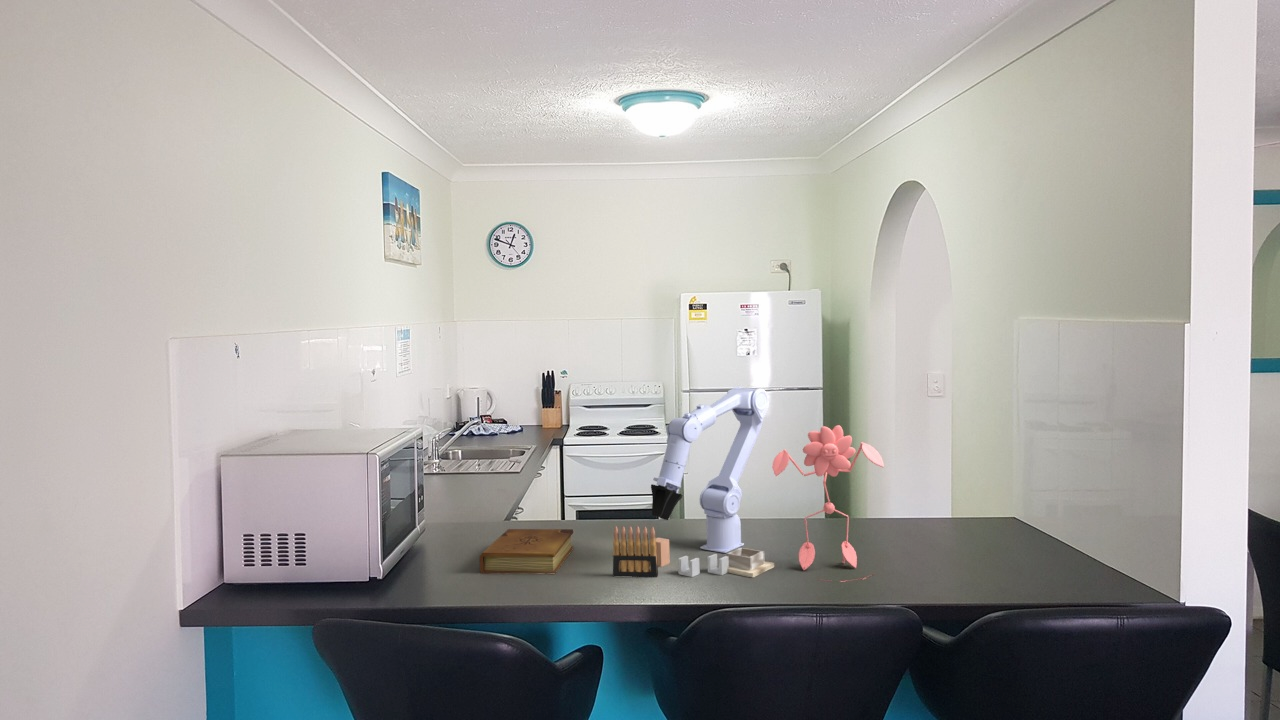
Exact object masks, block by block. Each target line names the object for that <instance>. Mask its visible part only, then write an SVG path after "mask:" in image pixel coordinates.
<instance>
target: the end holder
mask: <svg viewBox="0 0 1280 720" xmlns="http://www.w3.org/2000/svg"><path fill="white" fill-rule="evenodd" d="M725 556H728V561H729V568H728V573H727V574H732V575H737V576H743V577H748V578H755V577H758V576H759V575H761V574H764V573H765V572H767V571H769V570H771V569H773V568H775V562H770V561H766V559H765V558H766V557H765V556H766V554H765V550H758V549H752V548H747V547H742V546H741V547H738V548H736V549H734V550H731V551H729V552H727V553H725ZM717 567H718V568H719V565H717Z"/></svg>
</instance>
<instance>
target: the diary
mask: <svg viewBox="0 0 1280 720" xmlns="http://www.w3.org/2000/svg"><path fill="white" fill-rule="evenodd" d="M573 533H574V529H567V528H565V529H563V528H559V529H558V528H557V529H556V528H541V529H540V528H508V529H507V530H505V532H504V533H502V535H500V536H499V537H498V538H497V539H496V540H495V541H494V542H492V544H490V546H488V547H487V548H486V549H485V550H483V552H481V554H480V555H479V572H480V574H490V573H555V574H556V573H557V572H558V571H559V569H560V568H561V567H562V565H563V564H562V563H564V562H565V561H566V560H567V558H568V557H567V556H569V555H570V554H571V553H572V551H573V550H574V549H575V546H572V535H573ZM573 548H574V549H573ZM572 549H573V550H572ZM571 550H572V551H571ZM570 552H571V553H570ZM569 553H570V554H569ZM566 557H567V558H566ZM565 559H566V560H565ZM564 560H565V561H564ZM563 561H564V562H563ZM561 564H562V565H561ZM560 566H561V567H560ZM559 567H560V568H559ZM557 570H558V571H557ZM556 571H557V572H556Z"/></svg>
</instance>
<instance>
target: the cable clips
mask: <svg viewBox="0 0 1280 720" xmlns="http://www.w3.org/2000/svg"><path fill="white" fill-rule="evenodd" d="M677 561H678V563H677V564H678V566H677V567H678V575H682V576H685V577H690V578H694V577H696V576H698V575H700V574H701V573H700V571H701V570H700V558H699V557H695V558H692V559H690V560H689V555H684V556H681V557H678V560H677ZM717 566H719V568H718V567H717ZM728 568H729V561H728V556H726V555H725V556H723V557H720V558H718V554H717V553H714V554H711V555H709V556H707V573H709V574H714V575H717V576H718V575H719V576H723V575H725V574H729V573H728Z"/></svg>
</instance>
